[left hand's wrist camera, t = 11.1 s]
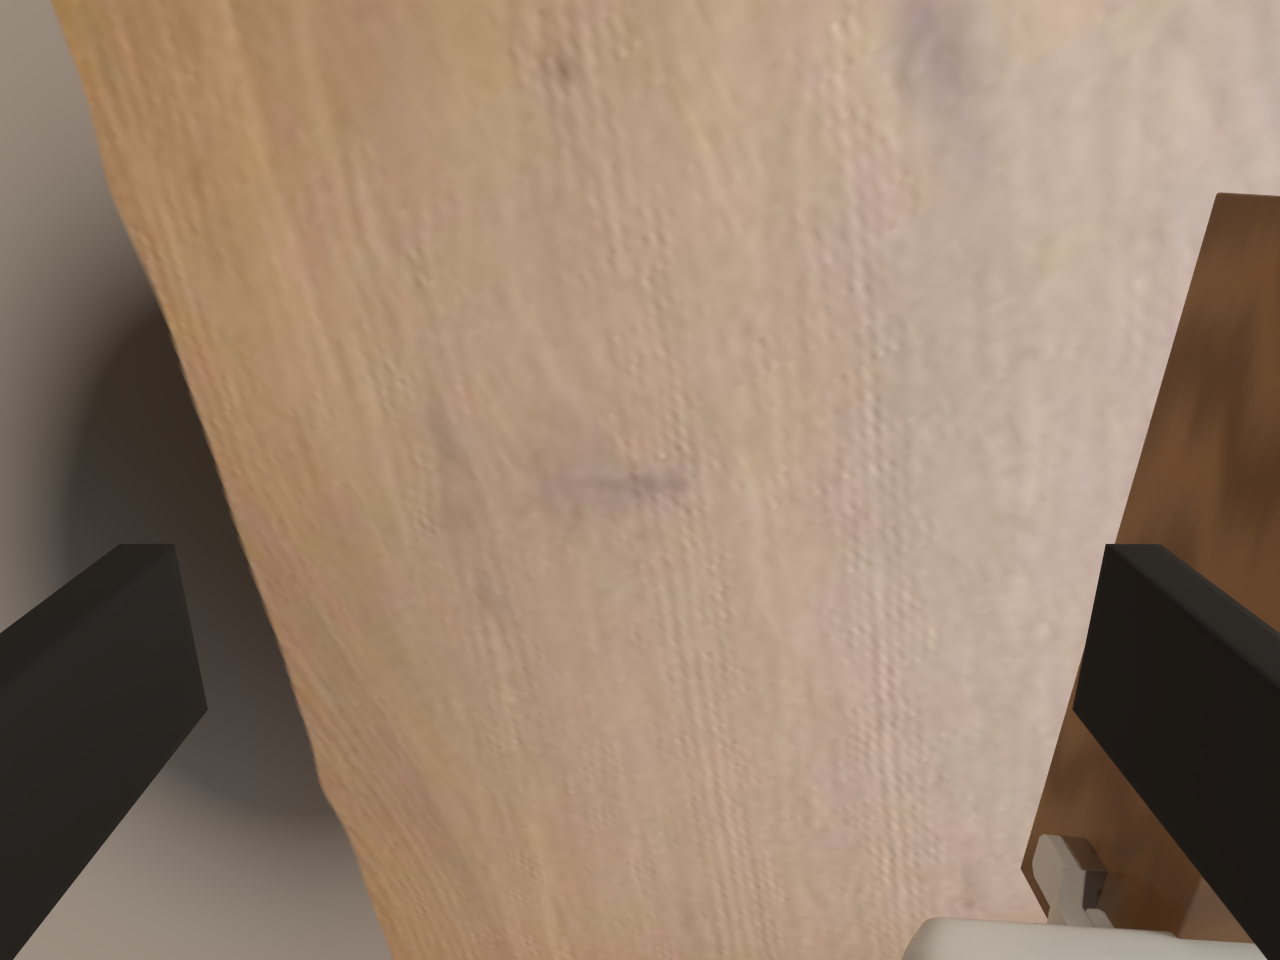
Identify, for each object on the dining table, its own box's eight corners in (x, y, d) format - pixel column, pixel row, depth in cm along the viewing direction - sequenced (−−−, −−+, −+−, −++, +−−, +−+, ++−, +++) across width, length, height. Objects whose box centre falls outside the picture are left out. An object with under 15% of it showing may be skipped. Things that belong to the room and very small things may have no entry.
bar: (1215, 192, 25) (1458, 206, 18) (1377, 205, 25) (1686, 225, 18) (1019, 868, 33) (1126, 1070, 26) (1140, 875, 34) (1282, 1079, 26)
